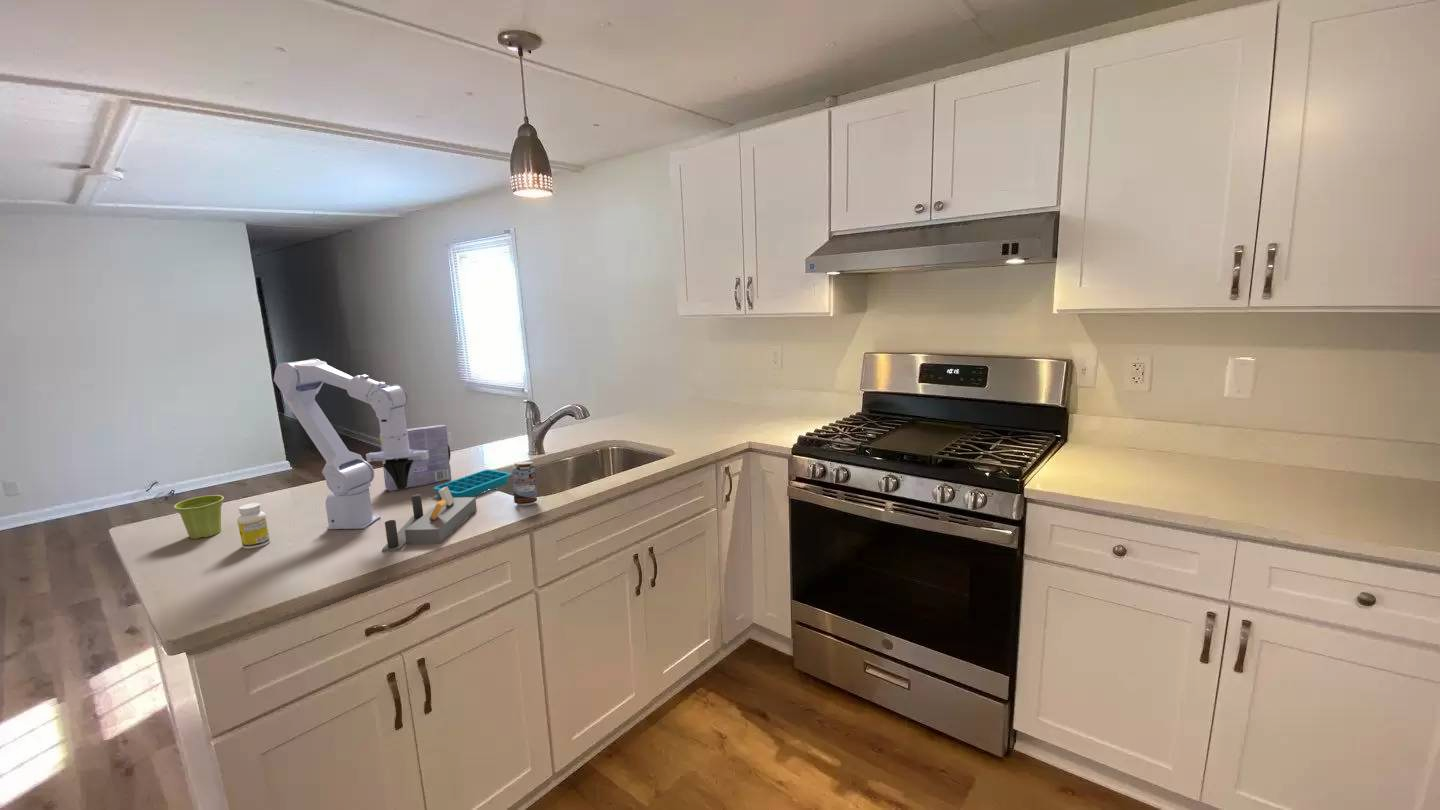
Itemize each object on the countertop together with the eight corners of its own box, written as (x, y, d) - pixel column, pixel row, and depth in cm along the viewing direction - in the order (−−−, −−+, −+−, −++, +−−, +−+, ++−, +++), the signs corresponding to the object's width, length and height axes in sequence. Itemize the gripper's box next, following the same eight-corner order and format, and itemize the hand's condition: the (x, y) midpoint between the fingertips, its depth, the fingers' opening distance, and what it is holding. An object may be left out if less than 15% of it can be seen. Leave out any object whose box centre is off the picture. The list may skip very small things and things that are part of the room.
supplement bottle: (247, 542, 145) (240, 503, 143) (274, 538, 147) (267, 500, 145) (238, 551, 140) (231, 511, 138) (266, 547, 142) (259, 507, 140)
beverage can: (513, 509, 163) (510, 467, 160) (515, 500, 170) (511, 459, 167) (538, 507, 164) (534, 465, 162) (538, 498, 171) (535, 457, 169)
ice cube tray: (432, 497, 175) (431, 487, 174) (488, 478, 192) (487, 469, 191) (459, 503, 169) (458, 493, 169) (514, 482, 187) (513, 473, 186)
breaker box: (406, 543, 142) (404, 529, 141) (447, 509, 163) (445, 497, 163) (440, 543, 142) (438, 529, 141) (476, 509, 163) (475, 497, 163)
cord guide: (382, 552, 138) (378, 525, 136) (413, 518, 158) (409, 494, 157) (400, 551, 138) (397, 523, 137) (429, 517, 159) (426, 493, 157)
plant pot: (239, 528, 153) (233, 496, 151) (198, 543, 144) (192, 509, 143) (212, 525, 156) (205, 493, 154) (171, 540, 147) (164, 506, 145)
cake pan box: (451, 475, 194) (445, 422, 191) (455, 479, 190) (449, 424, 187) (384, 488, 182) (377, 432, 179) (388, 492, 178) (380, 435, 175)
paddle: (445, 508, 155) (438, 491, 154) (451, 504, 158) (443, 487, 157) (450, 507, 155) (442, 489, 154) (455, 502, 158) (447, 485, 157)
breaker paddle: (428, 519, 146) (437, 503, 145) (434, 514, 149) (442, 498, 148) (432, 522, 146) (441, 505, 145) (438, 517, 149) (447, 501, 148)
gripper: (355, 440, 143) (364, 494, 146) (416, 437, 143) (423, 492, 146) (372, 433, 150) (380, 485, 153) (429, 431, 150) (436, 482, 153)
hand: (402, 487), depth 150 cm, fingers closed
